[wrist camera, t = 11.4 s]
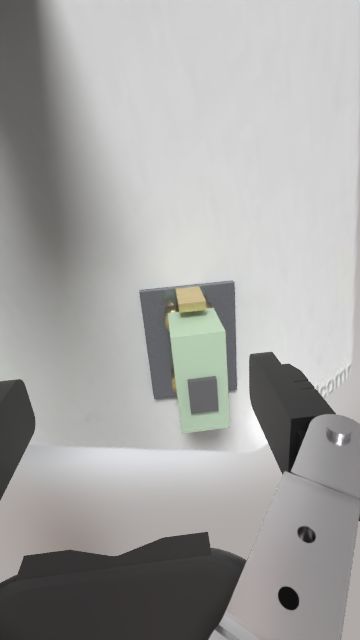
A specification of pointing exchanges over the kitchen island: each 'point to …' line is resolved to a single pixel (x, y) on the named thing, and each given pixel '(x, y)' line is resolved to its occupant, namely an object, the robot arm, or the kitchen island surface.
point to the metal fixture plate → (181, 300)
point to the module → (200, 370)
